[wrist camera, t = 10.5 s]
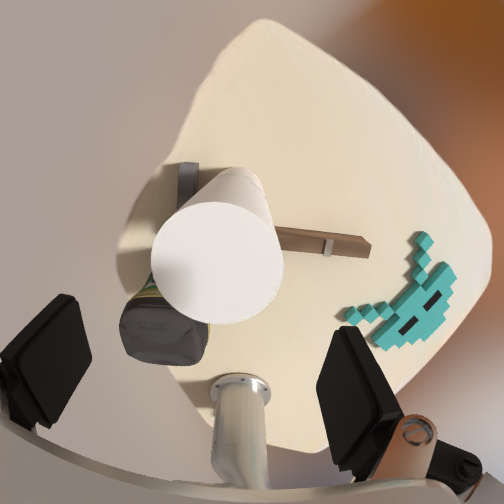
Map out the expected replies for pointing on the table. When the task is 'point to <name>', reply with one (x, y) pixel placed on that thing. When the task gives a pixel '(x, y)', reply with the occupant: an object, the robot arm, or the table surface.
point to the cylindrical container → (220, 252)
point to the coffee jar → (161, 330)
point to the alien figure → (412, 304)
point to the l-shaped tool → (286, 236)
